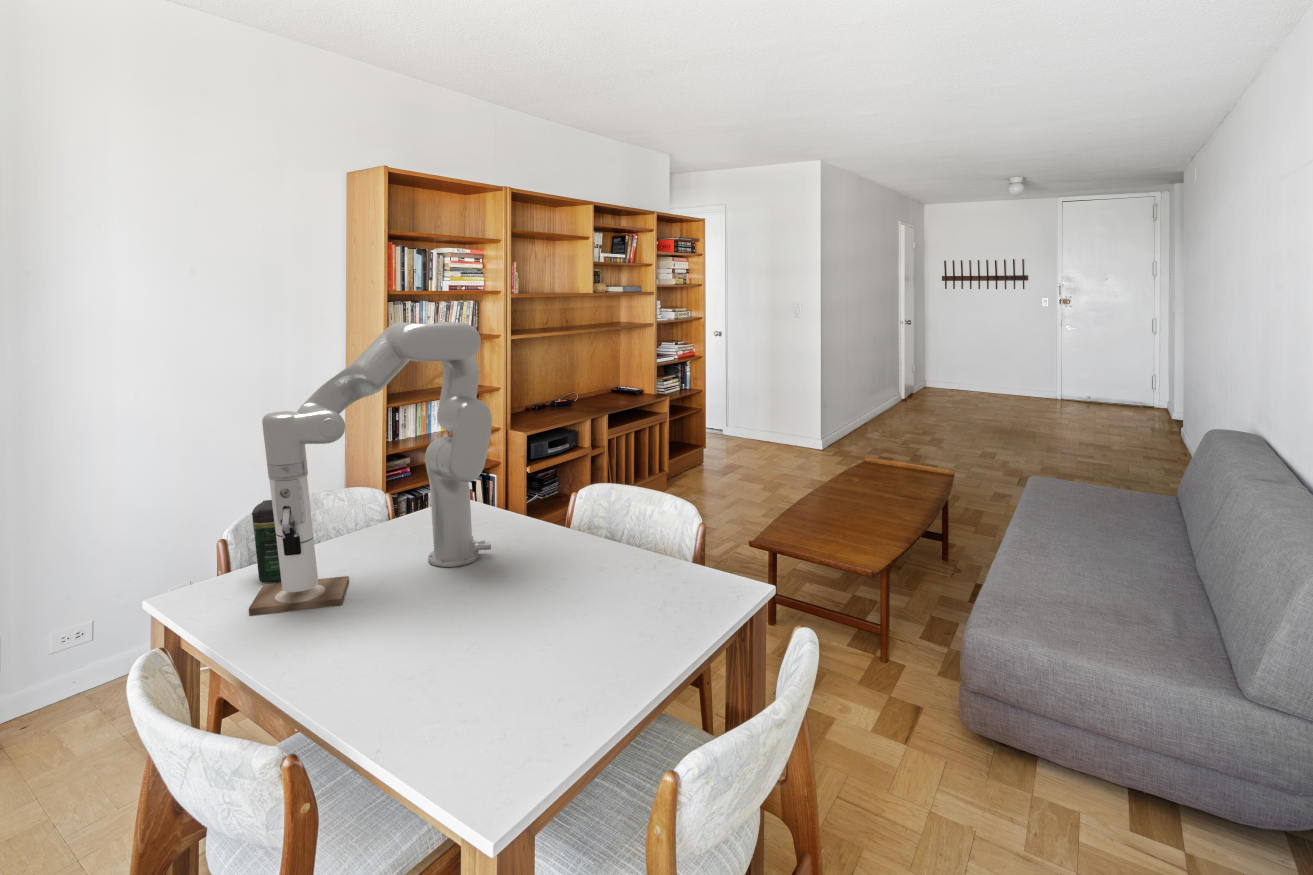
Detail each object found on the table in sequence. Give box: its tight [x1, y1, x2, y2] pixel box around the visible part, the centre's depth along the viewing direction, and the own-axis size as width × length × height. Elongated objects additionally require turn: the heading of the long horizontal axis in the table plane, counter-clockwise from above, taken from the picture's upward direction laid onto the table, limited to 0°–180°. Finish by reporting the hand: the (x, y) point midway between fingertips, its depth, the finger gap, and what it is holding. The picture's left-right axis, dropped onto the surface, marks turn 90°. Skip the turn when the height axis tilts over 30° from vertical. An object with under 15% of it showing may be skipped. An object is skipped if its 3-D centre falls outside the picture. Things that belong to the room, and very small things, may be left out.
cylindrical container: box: [268, 475, 319, 592], centre depth 152 cm, size 7×7×25 cm
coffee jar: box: [251, 499, 282, 584], centre depth 166 cm, size 10×8×19 cm
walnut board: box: [248, 575, 350, 616], centre depth 156 cm, size 18×13×2 cm
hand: (296, 547), depth 153 cm, fingers closed on cylindrical container, 7 cm apart
